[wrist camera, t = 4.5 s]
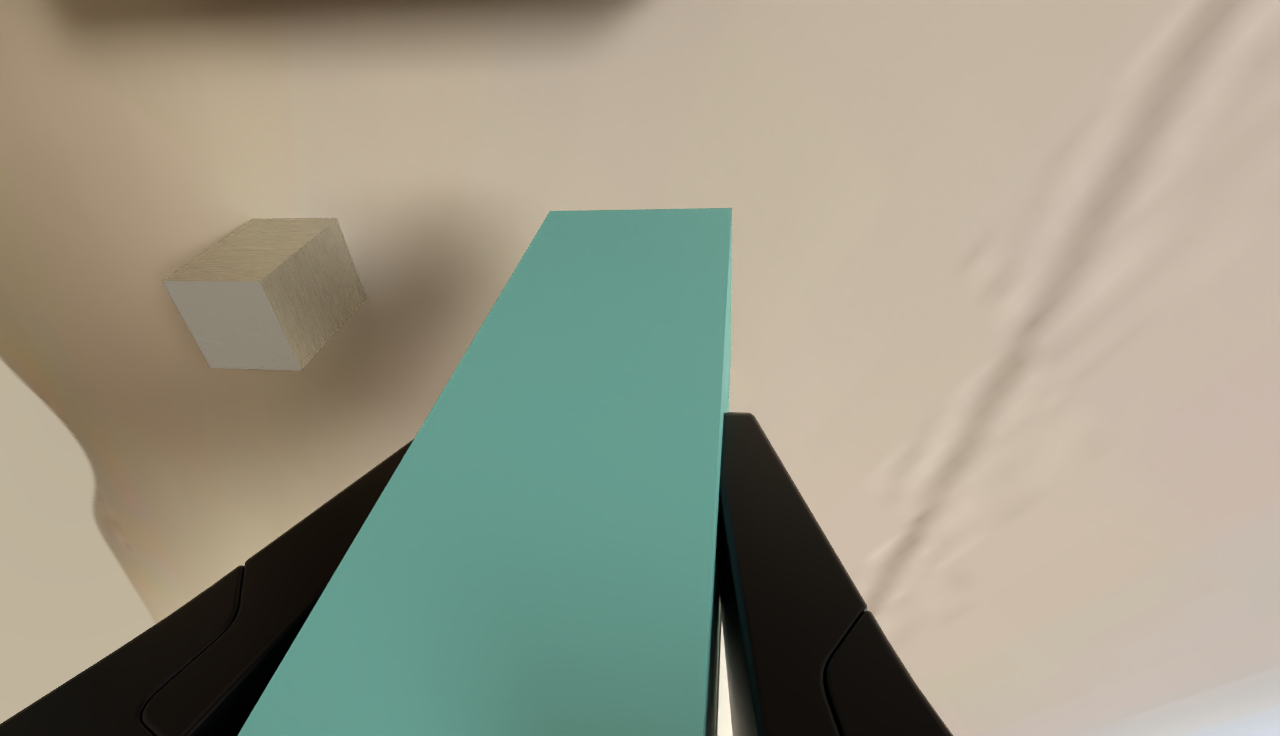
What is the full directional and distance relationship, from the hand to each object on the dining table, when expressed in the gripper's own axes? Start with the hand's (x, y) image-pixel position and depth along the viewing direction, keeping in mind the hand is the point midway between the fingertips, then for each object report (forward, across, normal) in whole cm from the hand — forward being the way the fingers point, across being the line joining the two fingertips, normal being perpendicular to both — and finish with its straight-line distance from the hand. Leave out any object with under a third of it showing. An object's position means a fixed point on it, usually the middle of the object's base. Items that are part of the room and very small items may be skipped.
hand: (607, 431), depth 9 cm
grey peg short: (+13, +14, +4) cm, 19 cm away
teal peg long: (+4, 0, 0) cm, 4 cm away
